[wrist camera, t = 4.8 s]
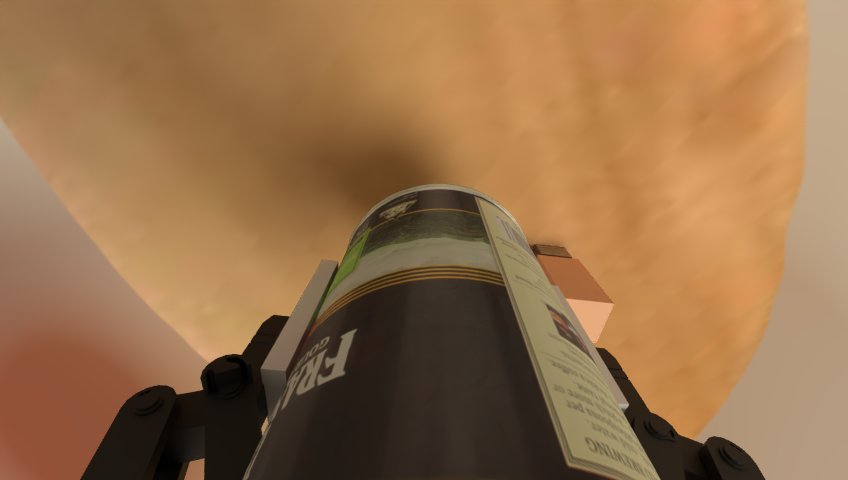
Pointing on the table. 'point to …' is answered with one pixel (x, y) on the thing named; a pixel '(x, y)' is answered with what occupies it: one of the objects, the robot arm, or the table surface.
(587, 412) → the coffee can
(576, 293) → the lever knob
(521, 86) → the table surface
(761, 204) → the table surface
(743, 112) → the table surface
